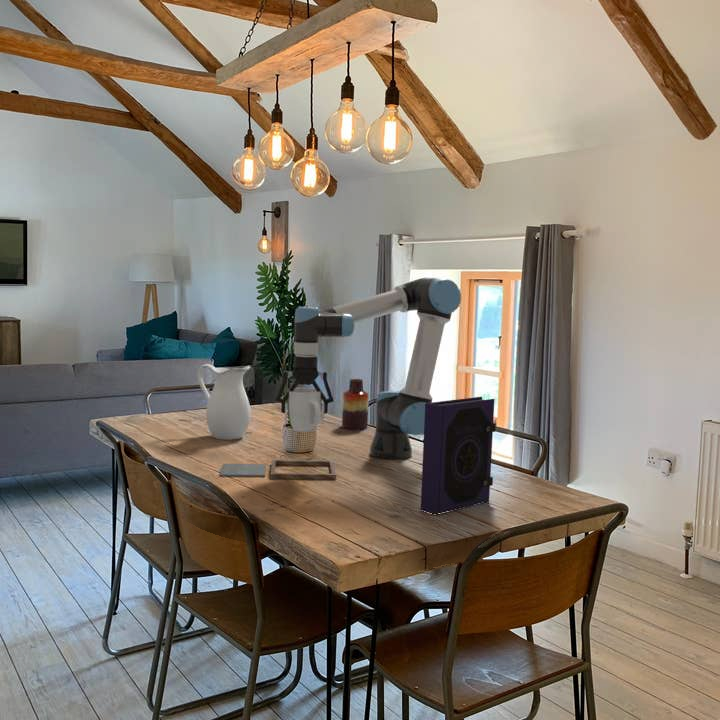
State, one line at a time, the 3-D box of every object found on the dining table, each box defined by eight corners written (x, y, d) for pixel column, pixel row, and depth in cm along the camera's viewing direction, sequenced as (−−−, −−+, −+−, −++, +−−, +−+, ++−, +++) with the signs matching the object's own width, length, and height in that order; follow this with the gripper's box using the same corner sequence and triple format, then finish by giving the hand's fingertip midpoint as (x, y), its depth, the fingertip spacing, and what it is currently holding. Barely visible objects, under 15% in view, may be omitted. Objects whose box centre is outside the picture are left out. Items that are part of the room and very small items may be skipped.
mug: (333, 433, 244) (334, 392, 243) (303, 437, 238) (304, 395, 237) (310, 425, 257) (310, 386, 255) (281, 428, 251) (281, 388, 249)
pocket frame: (332, 465, 260) (333, 460, 259) (336, 479, 241) (336, 474, 241) (272, 464, 258) (272, 459, 258) (270, 478, 240) (270, 473, 239)
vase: (367, 430, 322) (369, 381, 319) (341, 429, 322) (343, 380, 319) (367, 425, 332) (369, 378, 330) (342, 424, 332) (344, 377, 330)
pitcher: (258, 436, 301) (260, 365, 298) (229, 443, 287) (230, 369, 284) (213, 428, 314) (214, 360, 311) (183, 434, 300) (184, 363, 297)
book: (436, 516, 207) (441, 406, 204) (419, 510, 212) (424, 402, 209) (491, 501, 223) (497, 399, 220) (474, 496, 227) (480, 396, 224)
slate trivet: (266, 465, 255) (266, 464, 255) (264, 476, 242) (265, 474, 242) (223, 465, 254) (223, 463, 254) (219, 476, 240) (219, 474, 240)
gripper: (341, 355, 250) (339, 421, 253) (269, 353, 248) (267, 420, 251) (343, 357, 243) (341, 426, 245) (268, 355, 241) (267, 425, 243)
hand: (304, 423), depth 248 cm, fingers closed on mug, 11 cm apart
